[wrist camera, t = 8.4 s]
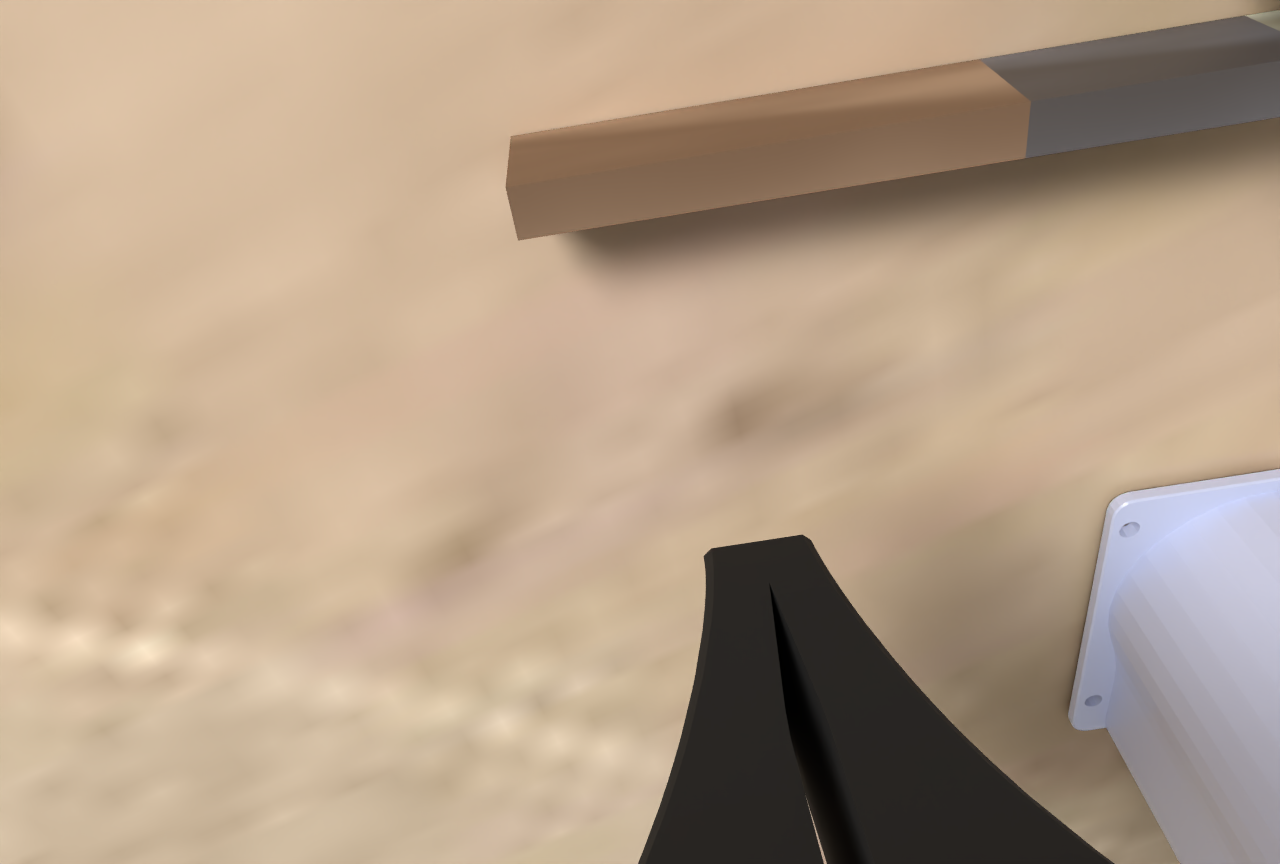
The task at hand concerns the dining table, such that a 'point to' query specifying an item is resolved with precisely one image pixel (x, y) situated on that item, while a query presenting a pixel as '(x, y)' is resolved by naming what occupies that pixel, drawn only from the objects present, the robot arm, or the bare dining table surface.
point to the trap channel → (896, 126)
